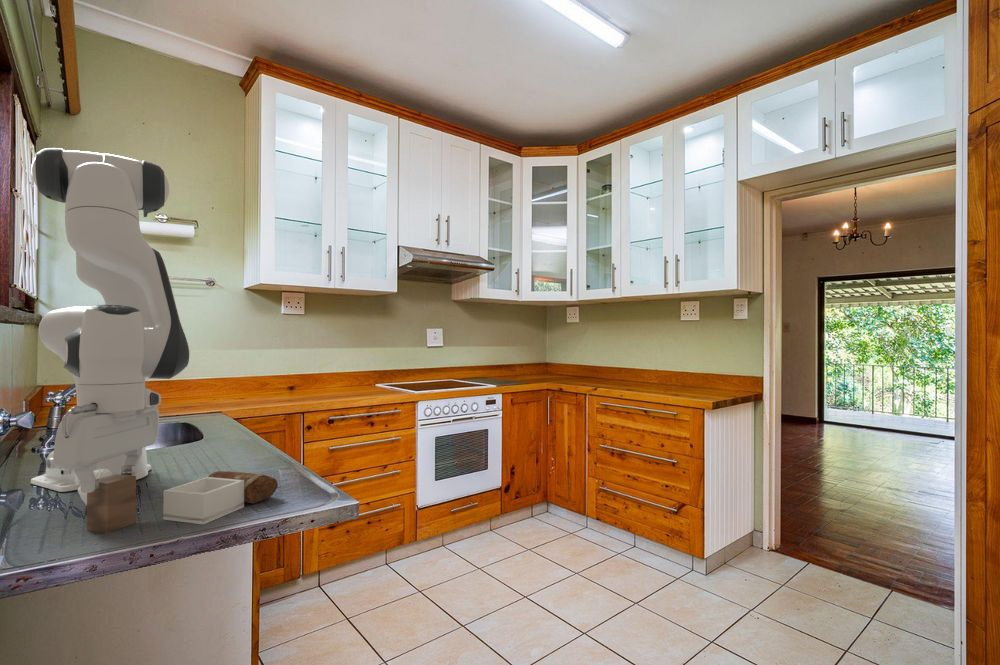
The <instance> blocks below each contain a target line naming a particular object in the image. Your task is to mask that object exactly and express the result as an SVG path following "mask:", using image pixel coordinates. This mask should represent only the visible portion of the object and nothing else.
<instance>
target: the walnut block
mask: <svg viewBox="0 0 1000 665" xmlns="http://www.w3.org/2000/svg"><path fill="white" fill-rule="evenodd" d="M99 479H100V483H99V489H98V490H95V491H93V492H91V493H87V505H86V531H90V532H97V533H104V534H109V533H111V532H114V531H117V530H119V529H122V528H124V527H127V526H131V525H133V524H136V523H137V522H136V521H137V519H136V518H137V515H136V514H137V480H136V476H132V475H122V474H114V475H110V476H106V477H103V478H99Z"/></svg>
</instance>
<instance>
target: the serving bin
mask: <svg viewBox="0 0 1000 665" xmlns="http://www.w3.org/2000/svg"><path fill="white" fill-rule="evenodd" d="M162 503H163V505H162V511H163V514H162V520H165V521H174V522H182V523H188V524H197V525H206V524H208V523H210V522H213V521H214V520H217V519H219V518H222V517H225V516H227V515H229V514H232V513H234V512H236V511H239V510H241V509H243V508H245V501H244V480H236V479H225V478H214V477H208V476H206V477H202V478H199V479H196V480H193V481H190V482H186V483H183V484H181V485H176V486H173V487H171V488H168V489H165V490H163V502H162Z"/></svg>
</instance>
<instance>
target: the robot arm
mask: <svg viewBox="0 0 1000 665" xmlns="http://www.w3.org/2000/svg"><path fill="white" fill-rule="evenodd" d="M30 170H31V171H30V172H31V173H30V174H31V176H32V180H33V182H34V184H35V186H36V187H37V190H38V192H39V193H40V194H41V195H43V196H44V197H45V198H46V199H49V200H52V201H55V202H59V203H63V204H64V226H65V234H66V235H65V236H66V239H67V243H68V244H69V246H70V248H72V249H73V251H75V266H76V268H75V270H76V271H75V273H76V276H77V278H78V280H79V281H80V282H82V283H83V284H84V285H86V286H87V287H90V288H92V289H94V290H96V291H98V293H100V295H101V296H102V298H103V301H104V304H95V305H91V306H90V305H89V306H87V305H81V306H80V305H76V306H68V307H62V308H58V309H53V310H50V311H48V312H47V313H45V315H44V316H43V317H42V318H41V320H40V322H39V325H38V336H39V339H40V342H41V344H43V346H44V347H45V348H46V349H48V351H50V352H52V353H54V354H55V355H56V356H58V357H59V358H60V359H61V360H62V361H63V362H64V365H63V368H64V369H65V370H66V371H68V372H69V373H70V374H71V375H72V378H73V380H74V384H75V393H76V405H74V406H72V407H69V409H68V411H67V412H66V413H65V414H64V415H62V418H61V421H60V423H59V424H58V427H57V430H56V433H55V439H54V445H53V446H54V447H53V451H51V452H50V453H49V454H48V455H47V458H46V461H45V466H46V467H45V473H44V474H41V475H38V476H34V477H32V478H31V479H30V484H32V485H35V486H39V487H42V488H45V489H49V490H51V491H52V490H53V491H56V492H59V493H62V492H63V493H65V492H66V493H67V492H72V491H78V488H79V487H80V486H81V492H82V493H91V492H93V491H95V490H98V489H99V483H100V479H96V478H95V475H94V472H93V471H94V470H98V469H108V470H110V471H111V472H112V475H114V474H122V475H132V476H136V481H137V480H139V479H140V480H141V479H142V478H145V477H146V476H148V475H149V471H150V470H151V469H152V466H151V464H148V457H147V449H146V448H147V447H149V446H151V445H154V444H155V443H156V442H157V439H158V437H159V430H160V410H159V408H158V406H159V405H161V403H162V395H161V394H160V393H159V392H156V391H154V390H151V389H150V388H148V387H146V378H147V379H160V380H161V379H162V380H163V379H164V380H170V379H172V378H173V377H175V376H178V375H179V374H180V373H182V371H184V370H185V368H187V367H188V366H189V361H190V354H191V353H190V346H189V343H188V339H187V337H186V334H185V332H184V328H183V326H182V323H181V319H180V315H179V313H178V307H177V304H176V301H175V296H174V292H173V288H172V285H171V281H170V277H169V275H168V271H167V267H166V264H165V261H164V259H163V257H162V255H161V253H160V252H159V251H158V250H156V249H154V248H153V247H151V246H150V244H149V243H148V241H146V239H145V238H144V236H143V233H142V231H141V227H140V224H141V223H140V213H139V211H143V218H147V217H148V214H151V213H154V212H157V211H159V210H160V209H162V208H163V207H164V206H165V203H166V202H167V199H168V198H169V195H170V185H169V181H168V178H167V176H166V175H165V171H164V169H162V167H161V166H160V165H157V164H155V163H153V162H149V161H148V160H147V161H146V160H143V159H142V161H141V160H137V159H134V158H129V157H125V156H121V155H115V154H110V153H105V152H104V153H99V152H92V151H83V150H82V151H80V150H68V149H67V150H65V149H63V148H62V147H61V148H60V147H58V148H57V147H47V148H43V149H41V150H39V151H38V152H36V154H35V157H34V159H33V161H32V163H31V168H30Z"/></svg>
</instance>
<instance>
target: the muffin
mask: <svg viewBox="0 0 1000 665" xmlns="http://www.w3.org/2000/svg"><path fill="white" fill-rule="evenodd" d="M93 472H94V475H95V478H96V479H99V478H103V477H106V476H110V475H112V472H111V471H110V470H108V469H98V470H94V471H93ZM77 493H78V494H79V497H80V499H81V500H82V501H83V503H84V504H85V505H86V506H87V493H82V492H81V486H80V487H79V488H78V490H77Z"/></svg>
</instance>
